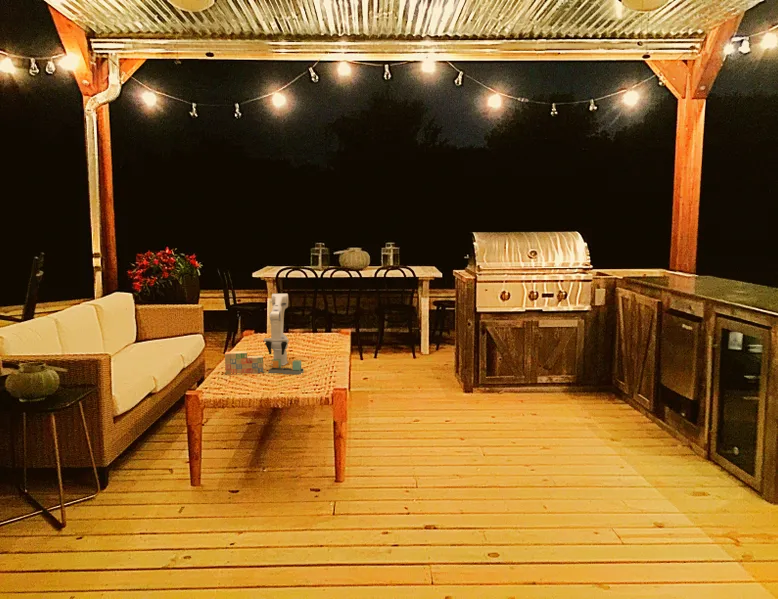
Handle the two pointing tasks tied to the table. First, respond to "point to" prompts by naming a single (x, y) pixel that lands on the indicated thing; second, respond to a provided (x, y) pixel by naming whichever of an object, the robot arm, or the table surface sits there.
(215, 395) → the table surface
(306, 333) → the table surface
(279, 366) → the toy block
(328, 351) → the table surface
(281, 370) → the rail
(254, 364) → the stack of blocks
